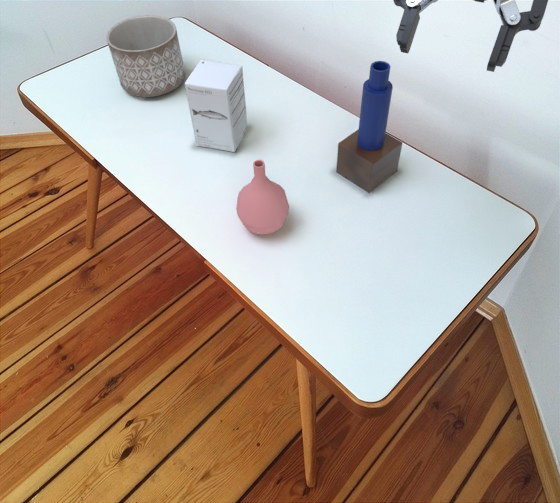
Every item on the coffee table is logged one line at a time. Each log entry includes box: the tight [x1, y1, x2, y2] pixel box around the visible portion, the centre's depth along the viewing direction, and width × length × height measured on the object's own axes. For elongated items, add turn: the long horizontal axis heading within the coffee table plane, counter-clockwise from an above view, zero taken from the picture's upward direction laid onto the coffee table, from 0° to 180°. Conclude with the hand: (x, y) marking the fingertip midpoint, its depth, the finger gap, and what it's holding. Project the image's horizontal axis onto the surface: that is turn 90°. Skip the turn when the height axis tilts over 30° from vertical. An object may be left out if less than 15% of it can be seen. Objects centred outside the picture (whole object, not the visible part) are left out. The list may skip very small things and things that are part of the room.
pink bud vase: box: [235, 159, 290, 235], centre depth 73 cm, size 8×8×12 cm
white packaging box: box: [184, 59, 248, 153], centre depth 86 cm, size 7×7×13 cm
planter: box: [105, 14, 186, 98], centre depth 98 cm, size 13×13×10 cm
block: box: [335, 128, 403, 194], centre depth 82 cm, size 7×7×6 cm
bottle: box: [357, 60, 394, 151], centre depth 74 cm, size 4×4×13 cm
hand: (446, 59), depth 50 cm, fingers open, 8 cm apart
